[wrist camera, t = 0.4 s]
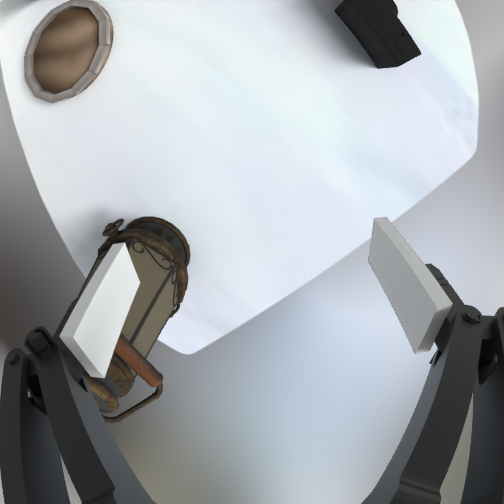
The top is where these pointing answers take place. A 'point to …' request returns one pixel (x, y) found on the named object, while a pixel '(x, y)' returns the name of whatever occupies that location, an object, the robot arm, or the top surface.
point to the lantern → (142, 307)
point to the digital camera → (379, 31)
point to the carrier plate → (68, 50)
